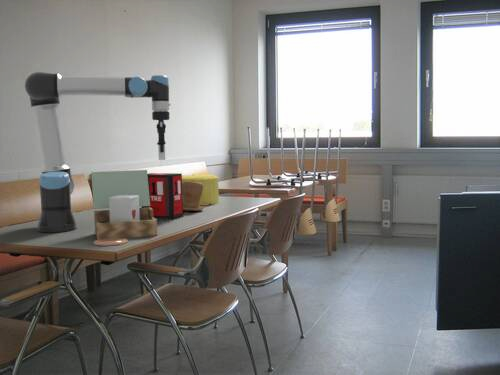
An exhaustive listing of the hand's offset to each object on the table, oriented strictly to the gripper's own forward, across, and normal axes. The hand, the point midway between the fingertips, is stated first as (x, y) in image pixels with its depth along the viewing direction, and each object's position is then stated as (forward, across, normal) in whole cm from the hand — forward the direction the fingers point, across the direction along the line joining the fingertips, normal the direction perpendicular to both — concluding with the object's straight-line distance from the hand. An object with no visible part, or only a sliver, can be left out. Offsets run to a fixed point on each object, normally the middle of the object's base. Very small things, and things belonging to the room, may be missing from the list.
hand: (161, 159), depth 260 cm
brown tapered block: (+27, +24, -13) cm, 38 cm away
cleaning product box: (+27, +6, 0) cm, 28 cm away
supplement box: (+27, -35, +15) cm, 47 cm away
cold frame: (+27, -35, +15) cm, 47 cm away
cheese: (+27, +55, -18) cm, 64 cm away
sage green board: (+10, -25, +17) cm, 32 cm away
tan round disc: (+27, -51, +20) cm, 61 cm away
